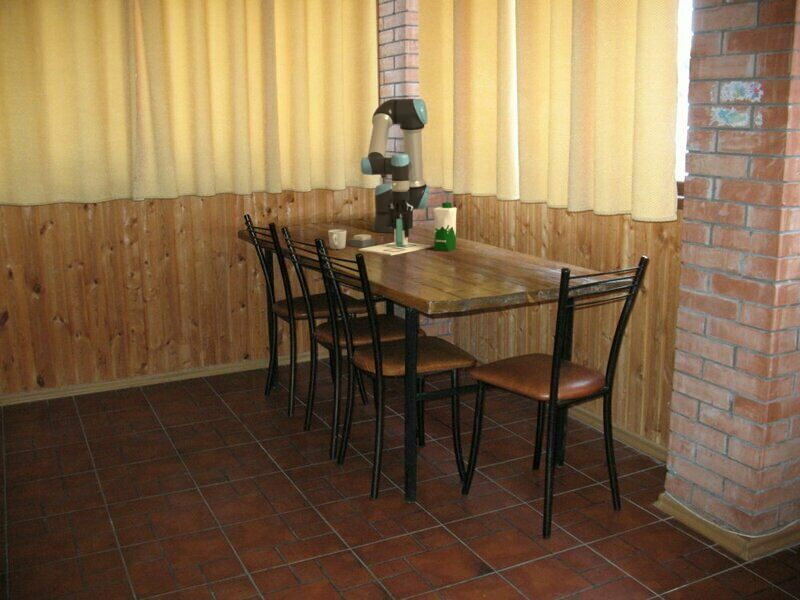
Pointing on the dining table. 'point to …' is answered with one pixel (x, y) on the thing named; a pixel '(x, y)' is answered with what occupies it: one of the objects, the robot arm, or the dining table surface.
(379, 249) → the picture board
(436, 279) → the dining table surface
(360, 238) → the button
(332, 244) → the cup
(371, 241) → the button housing
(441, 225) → the milk carton
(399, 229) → the teal cylinder
